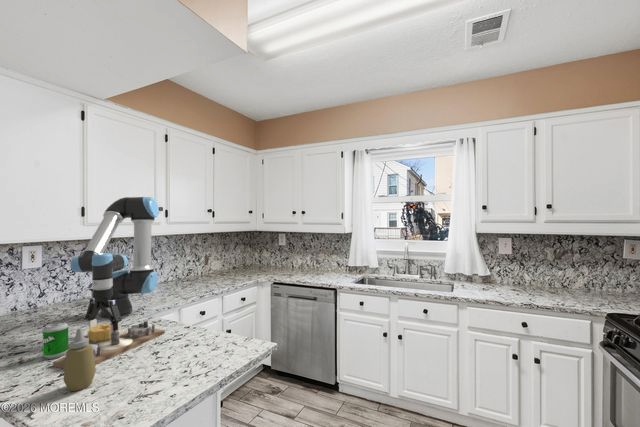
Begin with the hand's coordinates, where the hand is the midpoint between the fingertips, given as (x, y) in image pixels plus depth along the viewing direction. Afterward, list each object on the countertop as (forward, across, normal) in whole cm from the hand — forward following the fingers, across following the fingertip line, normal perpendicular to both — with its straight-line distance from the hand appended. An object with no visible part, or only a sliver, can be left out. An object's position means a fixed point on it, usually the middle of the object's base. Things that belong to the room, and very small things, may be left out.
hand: (103, 336), depth 137 cm
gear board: (0, +17, -7) cm, 18 cm away
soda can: (0, +1, -19) cm, 19 cm away
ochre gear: (0, 0, 0) cm, 0 cm away
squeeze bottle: (0, +34, -31) cm, 46 cm away
